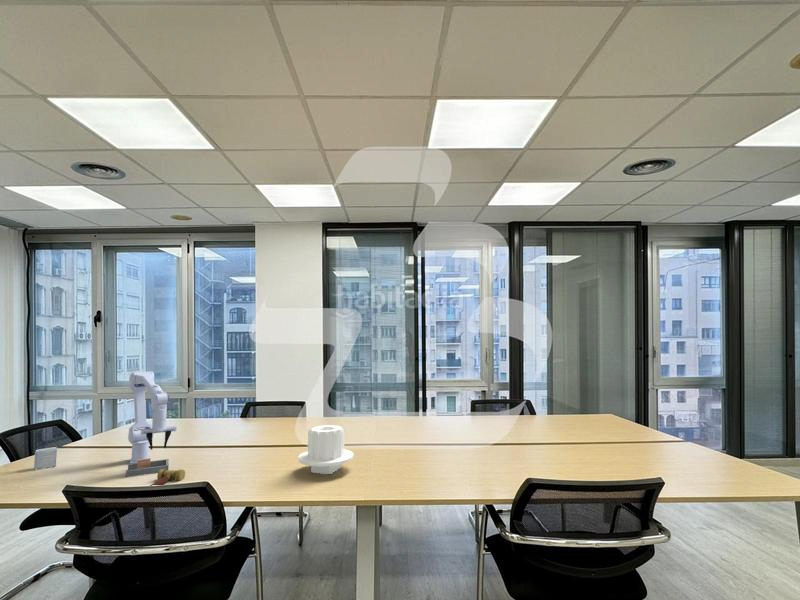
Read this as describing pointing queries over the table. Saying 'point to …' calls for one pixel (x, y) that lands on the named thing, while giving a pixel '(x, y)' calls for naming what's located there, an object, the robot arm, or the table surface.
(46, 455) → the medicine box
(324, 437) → the ribbed cylinder on disc
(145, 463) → the cube
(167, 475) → the gavel
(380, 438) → the table surface
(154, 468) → the grey u-shaped frame
